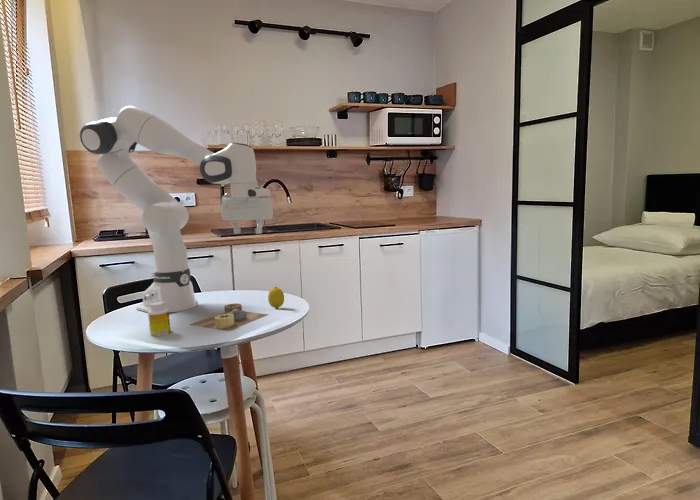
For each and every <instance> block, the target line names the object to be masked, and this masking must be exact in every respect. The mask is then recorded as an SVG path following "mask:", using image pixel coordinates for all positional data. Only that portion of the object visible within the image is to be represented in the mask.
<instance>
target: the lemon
mask: <svg viewBox="0 0 700 500" xmlns="http://www.w3.org/2000/svg"><path fill="white" fill-rule="evenodd" d="M267 300H268V303H269V305H270V306H271V307H272V308H274V309H276V310H278V309H279V308H280V307H282V306H283V305H284V302H285V293H284V291H283V290H282V289H281V288H280V287H277V286H274V287H273V288H271V289H270V290H269V292H268V295H267Z"/></svg>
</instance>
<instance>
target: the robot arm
mask: <svg viewBox="0 0 700 500" xmlns="http://www.w3.org/2000/svg"><path fill="white" fill-rule="evenodd" d="M79 138H80V139H79V140H80V142H81V144H82V146H83V147H84V149H86V151H88V152H89V153H91V154H95V155H99V156H98V157H97V160H96V166H97V168H98V169H99V171H100V172H101V174H102V175H103V176H104V178H105V179H106V180H107V181H108V183H110V185H111V186H112V187H114V189H115V190H116V191H117V192H118V193H119V194H121V195H122V197H123V198H125V200H126V201H127V202H128V203H130V204H131V205H132V206H134V207H136V208H138V209H139V210H141V212H142V215H141V220H142V221H141V222H142V224H143V226H144V228H145V229H146V232H147V233H148V236H149V239H150V242H151V246H152V251H153V254H154V255H153V257H154V264H155V265H154V266H155V272H152V273H151V277H153V282H152V283H151V285H150V286H148V288H146V290H144V292H143V293H142V303H141V304H139V305H137V306H136V310H138V311H142V312H145V313H148V311H149V310H151V308H150V304H151V303H154V302H160V301H162V302H165V308H167V309H168V311H169V314H170V313H177V312H182V311H186V310H188V309H192V308H194V307H196V306H197V305H198V300H197V299H196V297H195V296H196V295H195V291H194V286H193V282H192V281H191V269H190V268H189V262H188V261H189V260H188V250H187V246H186V244H185V242H184V239H183V236H182V233H181V230H182V229H183V228H184V227H185V226H186V225H187V223H188V221H189V218H190V214H189V211H188V209H187V207H185V206H184V205H183V204H182V203H181V202H179V201H178V200H177V199H176V198H175V197H173V196H172V195H171V194H169V193H168V192H167V191H166V190H165V189H164V188H162V187H161V186H159V185H158V184H157V183H156V182H155V181H154V180H153V179H152V178H151V177H149V174H148V175H147V174H146V172H145V171H144V170H143V168H142V169H141V167H140V166H139V165H138V164H137V163H135V162H134V161H133V159H132V158H131V156H130V153H133V152H134V151H135V150H136V146H137V145H138V144H139V145H140V146H142V147H143V148H146V149H147V150H150V151H152V152H156V153H158V154H162V155H167V156H173V157H174V156H175V157H179V158H183V159H186V160H188V161H191V162H193V163H195V164H197V165H198V166H199V173H200V175H201V176H200V177H202V178H203V180H205V181H206V182H208V183H210V184H213V185H214V184H217V185H225V186H230V193H229V192H226V193H224V194H223V195H222V197H221V204H220V205H221V206H220V209H221V210H220V216H221V219H222V221H229V223H230V225H231V226H232V228H233V233H234V235H236V234H241V232H242V231H241V230H242V229H241V227H239V226H238V221H256V223H257V226H256V228H255V229H254V230H255V234H256V235H257V234H260V235H261V234H262V233H263V227H264V224H265V221H266V220H267V221H268V220H272V219H273V217H274V208H273V206H274V205H273V200H272V198H271V193H272V192H271V190H270V189H267V188H264V187H261V186H258V180H257V176H256V175H257V174H256V173H257V162H256V155H255V151H254V149H253V147H252V146H251V145H249V144H247V143H240V142H231V143H229V144H228V145H227V146H226V147H225V148H223V149H221V150H219V151H216V152H213V151H212V150H209V149H208V148H206V147H204V146H202V145H200V144H198V143H196V142H195V141H193V140H192V139H190V138H189V137H187V136H186V135H184V134H183V133H182V132H180V131H179V130H178V129H176V127H174V126H172V124H170V123H168V122H167V121H165V120H163V119H162V118H161V117H159V116H157V115H155V114H153V113H151V112H149V111H147V110H144V109H142V108H139V107H136V106H134V105H128V106H127V105H126V106H125V107H122V108H121V109H120V110H119V111H118V113H117V116H116V117H114V116H113V117H107V118H106V117H105V118H103V119H100V120H97V121H96V120H95V121H91V122H88V123H87V124H85V125H83V126H82V128H81V129H80V132H79Z"/></svg>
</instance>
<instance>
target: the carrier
mask: <svg viewBox="0 0 700 500" xmlns="http://www.w3.org/2000/svg"><path fill="white" fill-rule="evenodd" d="M242 307H243V306H242V303H228V304H225V305H224V307H223V309H224V311H222V312H221V313H218V314H215V315H212V316H209V317H206V318H203V319H200V320H197V321H196V322H193V323H189V324H188V326H194V327H201V328H208V329H214V330H218V329H217V328H216V326H215V316H218V315H222V314H234V324H235V326H233V327H231V328H226V329H220V330H222V331H229V332H230V331H232V330H234V329H237V328H239V327H240V328H241V326H244V325H246V324H249V323H251V322H254V321H256V320H260V319H261V318H264V317H267V316H268V315H269V313H260V312H258V313H257V312H251V311H246V310H243V308H242Z"/></svg>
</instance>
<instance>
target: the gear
mask: <svg viewBox="0 0 700 500" xmlns="http://www.w3.org/2000/svg"><path fill="white" fill-rule="evenodd" d="M215 326H216V328H217V329H216V330H221V329H226V328H231V327H233V326H235V324H234V314H222V315H218V316H215Z"/></svg>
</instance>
